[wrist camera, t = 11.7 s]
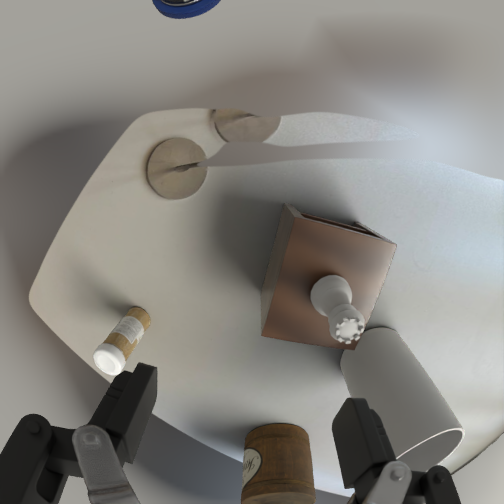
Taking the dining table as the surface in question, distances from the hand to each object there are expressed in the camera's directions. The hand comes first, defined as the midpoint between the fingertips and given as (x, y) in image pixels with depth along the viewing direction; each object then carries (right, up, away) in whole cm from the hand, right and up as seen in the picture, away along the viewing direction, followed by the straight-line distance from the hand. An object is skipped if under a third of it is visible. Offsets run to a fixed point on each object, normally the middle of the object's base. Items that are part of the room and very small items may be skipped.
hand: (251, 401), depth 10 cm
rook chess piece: (+8, +2, +19) cm, 21 cm away
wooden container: (+6, -37, +44) cm, 58 cm away
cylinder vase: (+22, -13, +36) cm, 44 cm away
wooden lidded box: (+9, +5, +31) cm, 32 cm away
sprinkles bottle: (-19, -5, +35) cm, 40 cm away
